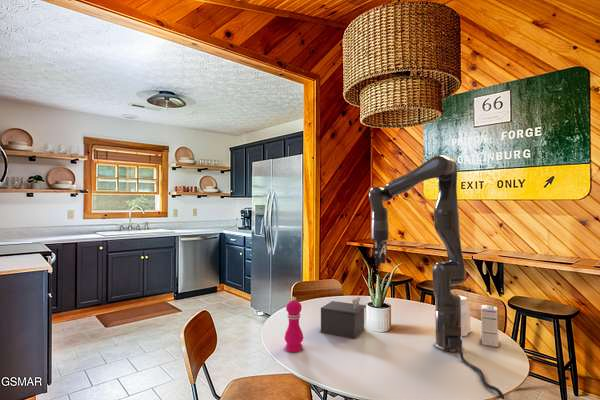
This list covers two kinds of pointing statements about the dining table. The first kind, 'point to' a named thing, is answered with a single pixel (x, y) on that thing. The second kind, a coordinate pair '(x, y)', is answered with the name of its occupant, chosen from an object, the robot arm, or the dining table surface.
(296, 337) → the pepper mill
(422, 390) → the dining table surface
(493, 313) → the syrup box
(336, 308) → the lid
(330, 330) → the dark lidded box
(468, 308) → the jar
